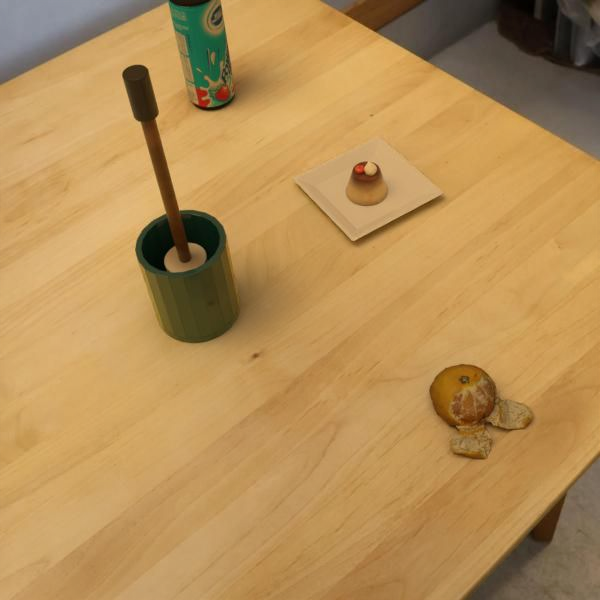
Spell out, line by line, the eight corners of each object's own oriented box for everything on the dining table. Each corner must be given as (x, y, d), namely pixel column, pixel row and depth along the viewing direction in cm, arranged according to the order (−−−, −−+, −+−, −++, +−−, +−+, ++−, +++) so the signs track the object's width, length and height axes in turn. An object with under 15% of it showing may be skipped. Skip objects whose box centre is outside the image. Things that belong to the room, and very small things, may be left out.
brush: (199, 326, 84) (136, 95, 62) (169, 309, 86) (97, 77, 64) (225, 300, 86) (172, 66, 64) (195, 283, 87) (134, 50, 66)
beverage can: (221, 116, 105) (201, 8, 94) (180, 105, 107) (156, -2, 96) (244, 88, 108) (227, -20, 97) (204, 78, 110) (183, -29, 99)
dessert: (292, 185, 97) (289, 153, 93) (378, 142, 100) (378, 109, 96) (353, 248, 90) (351, 216, 86) (443, 200, 93) (446, 167, 90)
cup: (203, 356, 83) (184, 291, 75) (140, 318, 86) (116, 252, 78) (256, 299, 86) (244, 232, 79) (194, 265, 90) (177, 197, 82)
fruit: (468, 470, 73) (471, 449, 70) (405, 404, 77) (406, 382, 75) (538, 418, 76) (544, 396, 73) (473, 357, 80) (476, 334, 77)
